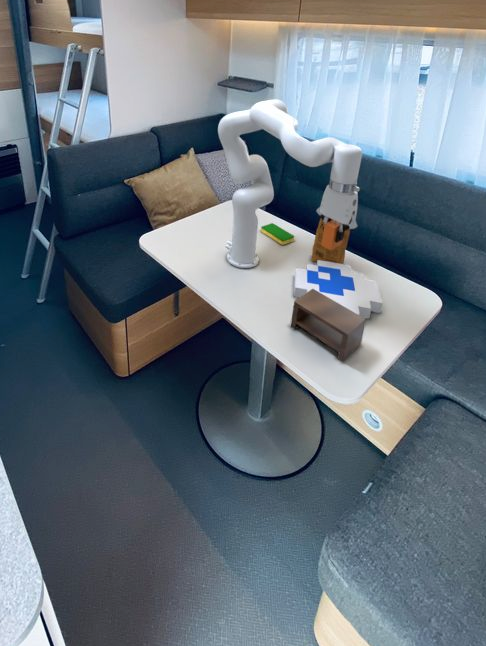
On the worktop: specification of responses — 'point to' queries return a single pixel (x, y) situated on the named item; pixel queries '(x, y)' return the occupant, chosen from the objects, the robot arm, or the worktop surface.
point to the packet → (330, 235)
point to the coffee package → (325, 254)
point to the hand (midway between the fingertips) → (332, 237)
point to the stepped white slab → (339, 286)
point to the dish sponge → (277, 233)
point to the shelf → (329, 322)
